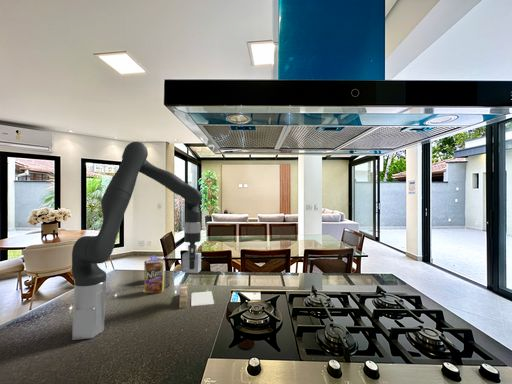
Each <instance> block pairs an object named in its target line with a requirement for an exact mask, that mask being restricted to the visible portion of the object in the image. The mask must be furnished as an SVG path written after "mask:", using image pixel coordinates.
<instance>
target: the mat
mask: <svg viewBox="0 0 512 384" xmlns="http://www.w3.org/2000/svg"><path fill="white" fill-rule="evenodd" d="M190 297H191V300H190V301H191V302H190V303H191V304H190V305H191V307H192V308H193V307H202V306H204V307H205V306H214V305H215V301H214V297H213V291H200V292H199V291H198V292H191V296H190Z"/></svg>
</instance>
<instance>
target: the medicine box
mask: <svg viewBox="0 0 512 384" xmlns="http://www.w3.org/2000/svg"><path fill="white" fill-rule="evenodd" d="M181 256H182V257H181V258H182V260H181V261H182V262H181V272H182V273H188V274H189V273H193V274H194V273H195V274H199V272H201V270H202V252H196V255H195V261H194V269H189V262H190V261H189V256H188V252H187V251H186V252H184V253H182V255H181ZM190 258H194V256H190Z"/></svg>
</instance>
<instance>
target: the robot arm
mask: <svg viewBox="0 0 512 384" xmlns="http://www.w3.org/2000/svg"><path fill="white" fill-rule="evenodd" d="M148 154H149V153H148V147H146V145H145V144H144V143H142V142H140V141H133V142H130V143H128V144H127V145H125V147H124V150H123V152H122V156H121V162H120V164H119V167H118V169H116V172H115V173H114V174H113V176H112V178H111V180H110V181H109V183H108V185H107V187H106V189H105V192H104V193H103V196H102V197H101V201H100V207H101V212H102V213H101V214H102V224H101V228H100V230H99V232H98V234H97V235H85V236H81V237H79V238H78V239H77V240H76V241H75V242H74V244H73V247H72V251H71V273H72V278H73V280H74V285H73V286H74V288H73V291H74V292H73V307H72V309H73V311H72V327H71V336H72V337H71V340H72V341H77V340H85V339H93V338H95V337H96V336H98V335H100V334H101V333H102V332H104V330H105V312H106V293H107V292H106V291H107V290H106V288H107V272H106V271H105V270H103V269H101V268H100V267H99V265H98V264H103V263H106V262H107V261H108V260H109V258H111V255H112V253H113V251H114V249H115V244H116V243H117V242H116V241H117V237H118V234H119V230H120V227H121V225H122V221H123V219H124V216H125V214H126V210H127V208H128V206H129V204H130V202H131V199H132V196H133V192H134V190H135V186H136V184H137V179H138V175H139V173H141V174H143V175H145V176H146V177H149V178H150V179H152V180H153V181H155V182H157V183H159V184H161V185H162V186H164V187H165V188H166V189H168V190H169V191H171V192H173V193H174V194H175V195H178V196H180V197H181V198H182V199H184V205H185V206H184V207H185V217H184V218H185V221H184V222H185V223H184V236H183V237H184V238H183V239H184V242H185V243H189V245H187V251H188V256H189V261H190V262H189V269H194V261H195V255H196V253H197V244H196V243H199V242H200V241H202V240H201V237H202V236H201V232H202V229H201V228H202V226H201V211H200V203H201V202H202V200H203V195H202V193H201V191H200V190H198V189H197V188H195V187H193V186H191V185H190V184H188V183H186V182H185V181H184V180H182V178H180V177H179V176H178V175H175V174H174V173H172V172H170V171H167V170H165V169H162V168H159V167H157V166H155V165H154V164H152V163H150V162H149V161H148V160H147V158H148V157H149V156H148ZM190 256H194V258H190ZM99 333H100V334H99Z"/></svg>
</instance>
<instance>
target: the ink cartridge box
mask: <svg viewBox="0 0 512 384" xmlns="http://www.w3.org/2000/svg"><path fill="white" fill-rule="evenodd" d="M147 261H165V259H164V258H161V257H157V255H156V254H155V255H150V259H149V260H144V264H143V265H144V275H143V276H144V279H143V281H144V283H145V263H146V262H147Z"/></svg>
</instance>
